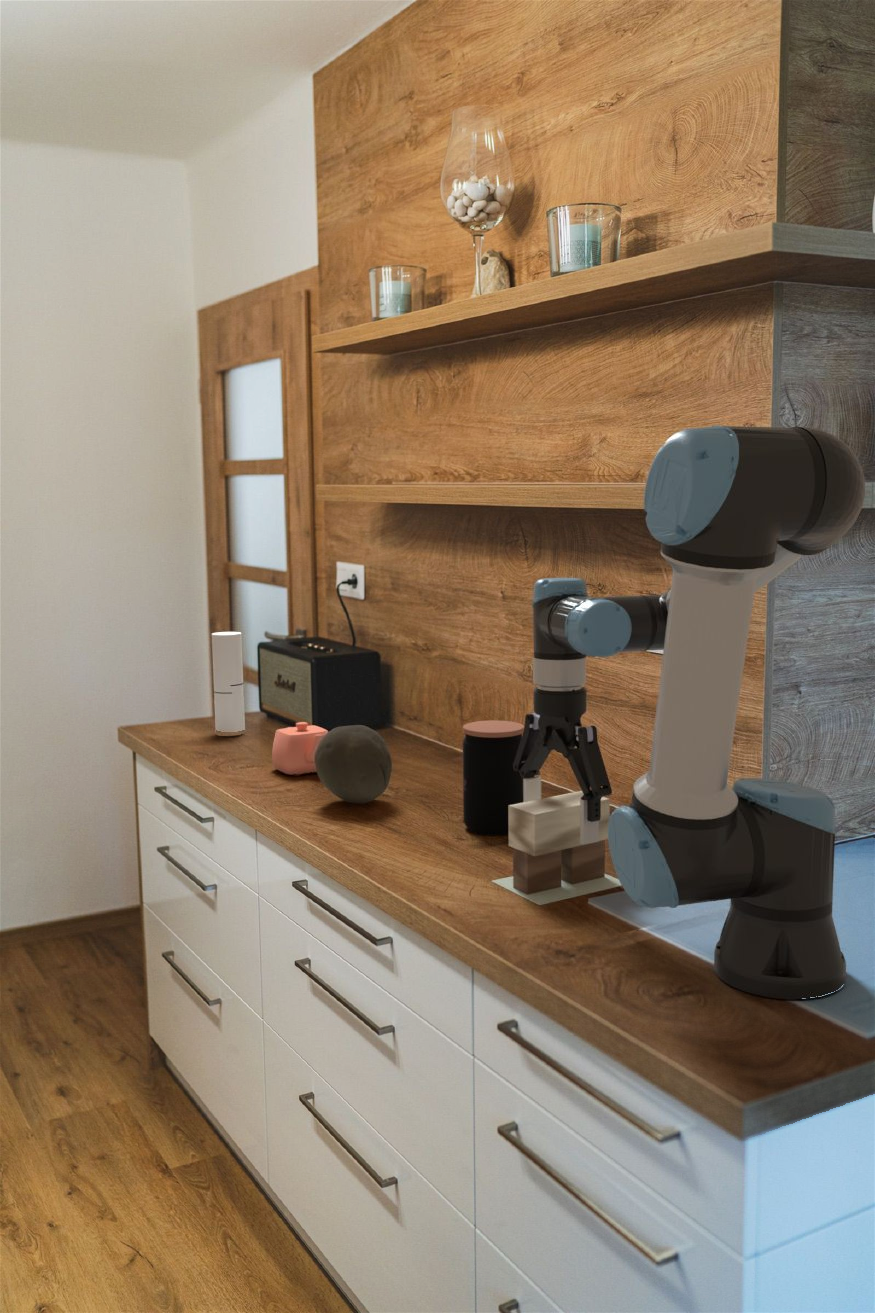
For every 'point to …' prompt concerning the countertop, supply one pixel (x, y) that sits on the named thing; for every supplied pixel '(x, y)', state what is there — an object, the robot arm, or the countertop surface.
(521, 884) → the post
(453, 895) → the countertop surface
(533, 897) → the board
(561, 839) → the lintel
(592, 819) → the robot arm
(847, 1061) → the countertop surface
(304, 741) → the teapot
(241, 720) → the cylindrical container
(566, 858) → the post
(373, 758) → the dark grey ball
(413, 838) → the countertop surface
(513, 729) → the coffee jar
